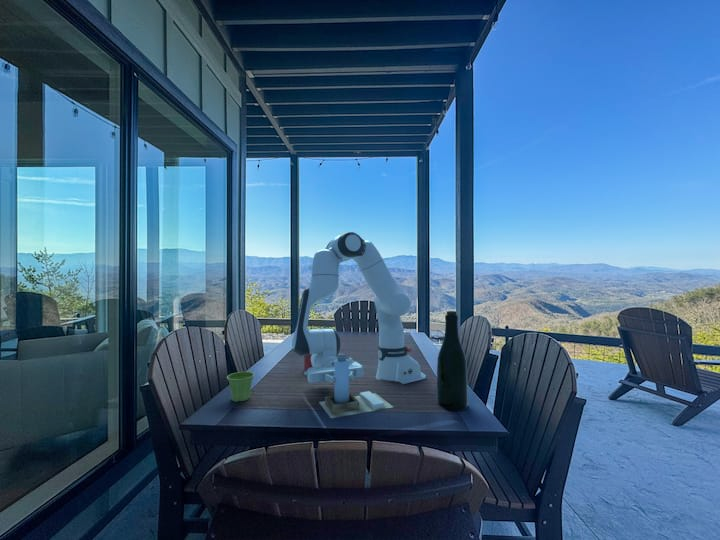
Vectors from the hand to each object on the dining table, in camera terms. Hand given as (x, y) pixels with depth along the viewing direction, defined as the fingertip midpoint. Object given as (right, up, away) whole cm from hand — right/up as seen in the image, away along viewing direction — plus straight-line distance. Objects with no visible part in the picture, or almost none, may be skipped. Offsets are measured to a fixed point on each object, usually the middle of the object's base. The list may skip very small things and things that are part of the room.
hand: (342, 379), depth 107 cm
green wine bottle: (+38, -11, +5) cm, 40 cm away
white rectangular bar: (+10, -10, +5) cm, 15 cm away
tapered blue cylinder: (0, -8, +1) cm, 8 cm away
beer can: (-18, -12, +47) cm, 52 cm away
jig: (+4, -11, +3) cm, 12 cm away
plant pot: (-38, -11, +11) cm, 41 cm away
